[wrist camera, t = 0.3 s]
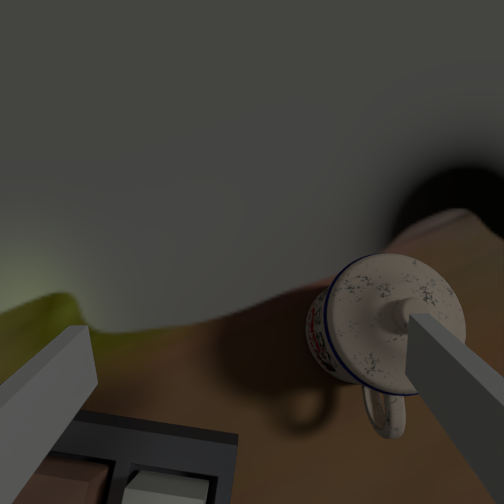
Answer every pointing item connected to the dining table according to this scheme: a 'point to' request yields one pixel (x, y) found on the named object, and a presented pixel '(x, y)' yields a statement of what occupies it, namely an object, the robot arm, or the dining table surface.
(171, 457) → the button panel
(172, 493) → the white button
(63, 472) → the terracotta button
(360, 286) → the teacup with lid
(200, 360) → the dining table surface
